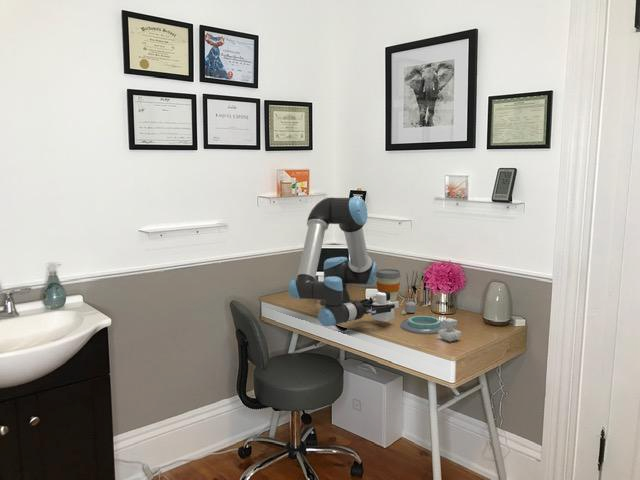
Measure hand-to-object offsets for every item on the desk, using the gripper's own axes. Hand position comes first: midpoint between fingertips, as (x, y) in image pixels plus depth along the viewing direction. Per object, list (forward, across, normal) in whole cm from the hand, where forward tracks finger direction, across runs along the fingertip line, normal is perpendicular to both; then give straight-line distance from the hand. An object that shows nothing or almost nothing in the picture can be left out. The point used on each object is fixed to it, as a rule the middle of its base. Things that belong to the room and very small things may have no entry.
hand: (390, 302), depth 238 cm
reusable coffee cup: (+27, -30, -10) cm, 42 cm away
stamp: (+1, +32, -9) cm, 33 cm away
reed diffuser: (+17, -4, -10) cm, 20 cm away
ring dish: (+6, +14, -9) cm, 18 cm away
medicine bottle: (-5, 0, -7) cm, 8 cm away
